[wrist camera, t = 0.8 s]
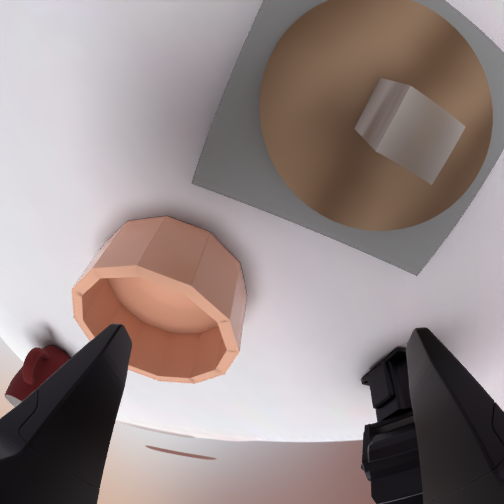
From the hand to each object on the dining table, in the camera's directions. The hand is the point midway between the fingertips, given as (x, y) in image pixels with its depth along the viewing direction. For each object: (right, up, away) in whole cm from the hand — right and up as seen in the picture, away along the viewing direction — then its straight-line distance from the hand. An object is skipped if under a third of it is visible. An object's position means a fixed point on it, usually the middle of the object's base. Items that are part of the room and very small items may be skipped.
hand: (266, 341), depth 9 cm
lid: (+7, +10, +6) cm, 14 cm away
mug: (-26, -10, +25) cm, 38 cm away
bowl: (-7, 0, +16) cm, 17 cm away
